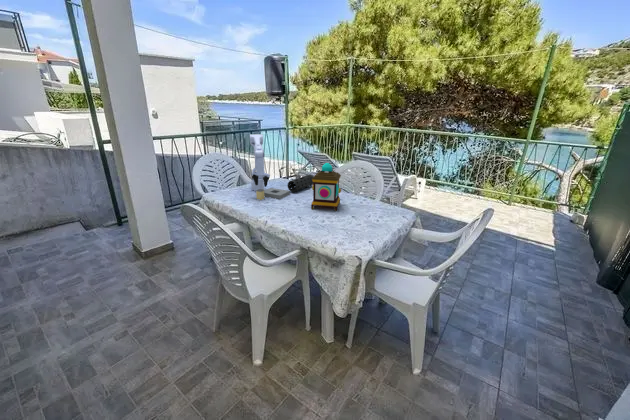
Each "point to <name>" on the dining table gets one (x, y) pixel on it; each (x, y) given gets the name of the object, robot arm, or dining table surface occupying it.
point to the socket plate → (276, 193)
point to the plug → (260, 194)
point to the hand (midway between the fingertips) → (261, 185)
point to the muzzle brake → (300, 183)
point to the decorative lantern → (326, 188)
